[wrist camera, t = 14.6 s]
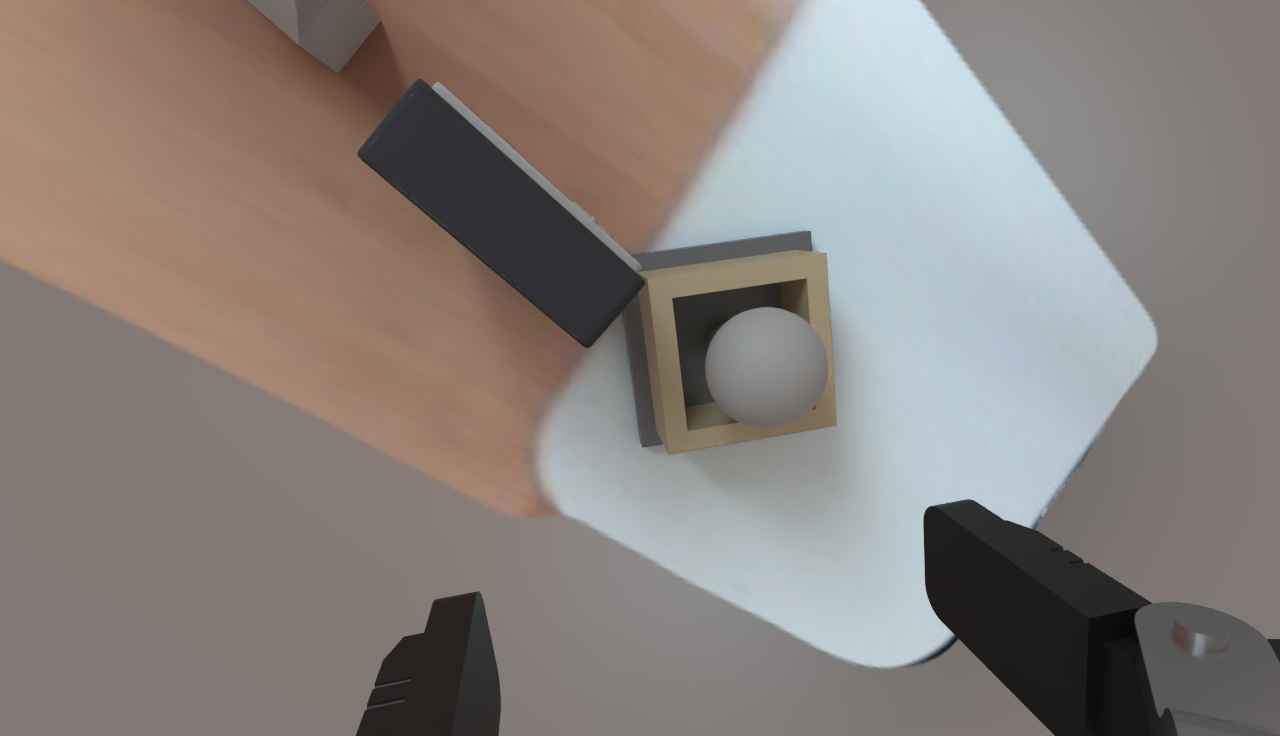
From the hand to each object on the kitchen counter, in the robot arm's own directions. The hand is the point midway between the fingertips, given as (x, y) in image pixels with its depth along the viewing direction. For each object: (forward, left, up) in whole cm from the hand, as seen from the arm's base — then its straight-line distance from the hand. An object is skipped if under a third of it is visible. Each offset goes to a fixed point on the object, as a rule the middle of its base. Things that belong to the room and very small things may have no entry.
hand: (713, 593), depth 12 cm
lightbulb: (+2, +8, -29) cm, 30 cm away
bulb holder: (+2, +8, -30) cm, 31 cm away
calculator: (-7, -3, -30) cm, 31 cm away
